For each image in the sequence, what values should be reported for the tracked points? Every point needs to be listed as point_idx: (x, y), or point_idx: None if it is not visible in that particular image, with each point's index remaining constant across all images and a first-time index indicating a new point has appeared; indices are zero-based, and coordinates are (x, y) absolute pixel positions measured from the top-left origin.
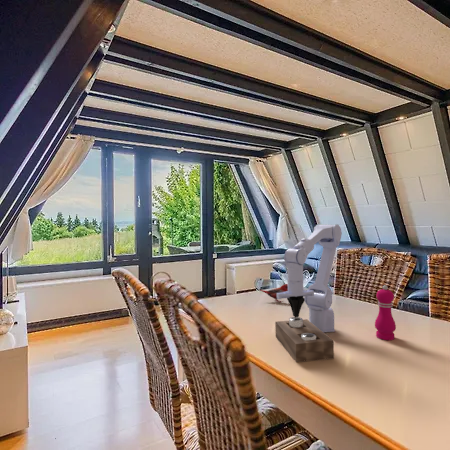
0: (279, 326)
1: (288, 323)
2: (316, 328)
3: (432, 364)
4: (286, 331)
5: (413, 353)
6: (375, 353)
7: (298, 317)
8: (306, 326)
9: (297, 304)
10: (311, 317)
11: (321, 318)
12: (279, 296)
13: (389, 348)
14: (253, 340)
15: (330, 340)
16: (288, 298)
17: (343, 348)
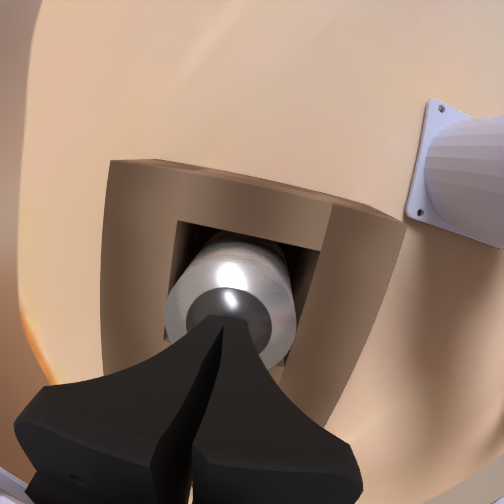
0: (102, 268)
1: (204, 224)
2: (323, 405)
3: (447, 482)
4: (114, 367)
5: (479, 447)
6: (421, 444)
7: (279, 301)
8: (288, 361)
9: (186, 497)
10: (469, 180)
11: (498, 245)
12: None
13: (477, 422)
14: (43, 168)
15: None
16: (47, 473)
17: (379, 404)
